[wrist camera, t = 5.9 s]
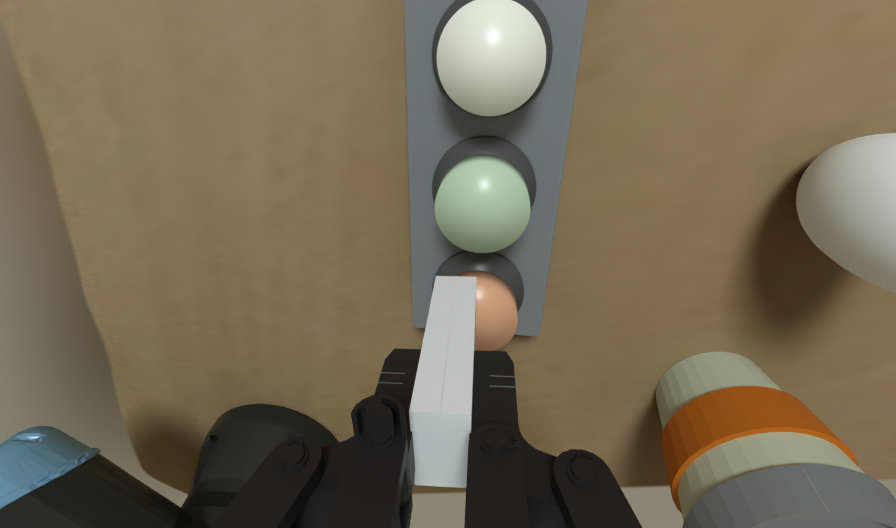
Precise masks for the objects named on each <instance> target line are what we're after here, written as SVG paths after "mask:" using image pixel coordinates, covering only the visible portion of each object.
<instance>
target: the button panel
mask: <svg viewBox="0 0 896 528" xmlns="http://www.w3.org/2000/svg"><path fill="white" fill-rule="evenodd" d="M472 1H474V0H404V11H405V49H406V86H407V123H408V160H409V197H410V234H411V271H412V309H413V327H414V328H426V323H427V318H428V313H429V308H430V303H431V298H432V293H433V288H434V283H435V278H436V276H455V275H457V274H459V273H462V272H466V271H472V270H479V271H486V272H490V273H493V274H495V275H497V276H499V277H501V278H502V279H503V280H505V281H506V282H507V283H508V284H509V285H510V287H511V288H512V290H513V292H514V294H515V297H516V303H517V317H518V324H517V329H516V332H515V334H514V335H525V336H539V333H540V327H541V320H542V313H543V306H544V299H545V292H546V285H547V279H548V272H549V265H550V258H551V251H552V244H553V238H554V231H555V224H556V217H557V210H558V203H559V196H560V190H561V183H562V176H563V169H564V162H565V155H566V149H567V142H568V135H569V128H570V121H571V114H572V107H573V101H574V94H575V87H576V80H577V73H578V66H579V60H580V53H581V46H582V39H583V32H584V25H585V18H586V12H587V5H588V0H513V1H515V2H517V3H519V4H520V5H522V6H523V7H525V8H526V9H527V10H528V11H529V12H530V13H531V14H532V15H533V16H534V18H535V19H536V21H537V22H538V24H539V26H540V28H541V30H542V33H543V36H544V39H545V44H546V64H545V70H544V73H543V76H542V79H541V81H540V83H539V85H538V87H537V89H536V90H535V92H534V93H533V94H532V96H531V97H530V98H529V99H528V100H527V101H526V102H525V103H524V104H522V105H521V106H520V107H518V108H517V109H515V110H513V111H511V112H509V113H506V114H503V115H498V116H480V115H476V114H473V113H470V112H468V111H466V110H464V109H462V108H461V107H460V106H458V105H457V104H456V103H455V102H454V101H453V100H452V99H451V98H450V97H449V95H448V94H447V93H446V91H445V89H444V88H443V85H442V83H441V81H440V78H439V74H438V69H437V48H438V43H439V40H440V37H441V34H442V32H443V30H444V28H445V26H446V24H447V23H448V21H449V20H450V19H451V17H452V16H453V15H454V14H455V13H456V12H457V11H458V10H459V9H461V8H462V7H463V6H465V5H466V4H468V3H470V2H472ZM476 154H491V155H495V156H499V157H501V158H504V159H506V160H507V161H509V162H510V163H512V164H513V165H514V166H515V167H516V168H517V169H518V170H519V171H520V172H521V174H522V175H523V177H524V179H525V182H526V184H527V188H528V193H529V199H530V217H529V221H528V224H527V226H526V228H525V230H524V232H523V233H522V234H521V236H520V237H519V238H518V239H517V240H516V241H515V242H513V243H512V244H511V245H509V246H508V247H506V248H504V249H501V250H498V251H495V252H490V253H476V252H470V251H467V250H464V249H462V248H460V247H458V246H456V245H454V244H453V243H452V242H450V241H449V240H448V239H447V238H446V237H445V236H444V234H443V233H442V231H441V230H440V228H439V226H438V224H437V221H436V217H435V209H434V208H435V200H436V196H437V193H438V190H439V187H440V184H441V181H442V179H443V177H444V175H445V174H446V172H447V171H448V170H449V169H450V168H451V166H453V165H454V164H455V163H456V162H458V161H459V160H461V159H463V158H465V157H468V156H471V155H476Z"/></svg>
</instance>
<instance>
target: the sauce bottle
mask: <svg viewBox="0 0 896 528" xmlns="http://www.w3.org/2000/svg"><path fill="white" fill-rule="evenodd" d="M796 208H797V213H798V217H799V220H800V223H801V225H802V227H803V229H804V230H805V232H806V233H807V235H808V236H809V238H810V239H811V241H812V242H813V243H814V244H815V245H816V246H817V247H818V248H819V249H820V250H821V251H822V252H823V253H825V254H826V255H827V256H828V257H830V258H831V259H832V260H833V261H834V262H836V263H837V264H839V265H840V266H841V267H843V268H845V269H846V270H848V271H849V272H851V273H853V274H855V275H857V276H858V277H860V278H862V279H865V280H867V281H869V282H871V283H873V284H875V285H877V286H879V287H882V288H884V289H887V290H889V291H892V292H894V293H896V133H889V134H877V135H869V136H864V137H859V138H855V139H851V140H848V141H845V142H842V143H840V144H837V145H835V146H833V147H831V148H829V149H827V150H826V151H824V152H823V153H821V154H820V155H819V156H818V157H817V158H816V159H815V160H814V161H813V162H812V163H811V164H810V165H809V166H808V168H807V169H806V171H805V172H804V174H803V175H802V178H801V180H800V182H799V185H798V188H797V193H796Z"/></svg>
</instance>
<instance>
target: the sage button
mask: <svg viewBox="0 0 896 528" xmlns="http://www.w3.org/2000/svg"><path fill="white" fill-rule="evenodd" d="M434 209H435V217H436V221H437V224H438V226H439V228H440V230H441V231H442V233H443V234H444V236H445V237H446V238H447V239H448V240H449V241H450V242H452V243H453V244H454V245H456V246H458V247H460V248H462V249H464V250H467V251H470V252H476V253H490V252H495V251H498V250H501V249H504V248H506V247H508V246H509V245H511V244H512V243H513V242H515V241H516V240H517V239H518V238H519V237H520V236H521V234H522V233H523V232H524V230H525V228H526V226H527V224H528V221H529V217H530V199H529V193H528V188H527V184H526V182H525V179H524V177H523V175H522V174H521V172H520V171H519V170H518V169H517V168H516V167H515V166H514V165H513V164H512V163H510V162H509V161H507V160H506V159H504V158H501V157H499V156H495V155H491V154H476V155H471V156H468V157H465V158H463V159H461V160H459V161H458V162H456V163H455V164H454V165H453V166H451V168H450V169H449V170H448V171H447V172H446V174H445V175H444V177H443V179H442V181H441V184H440V187H439V190H438V193H437V196H436V200H435V208H434Z"/></svg>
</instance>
